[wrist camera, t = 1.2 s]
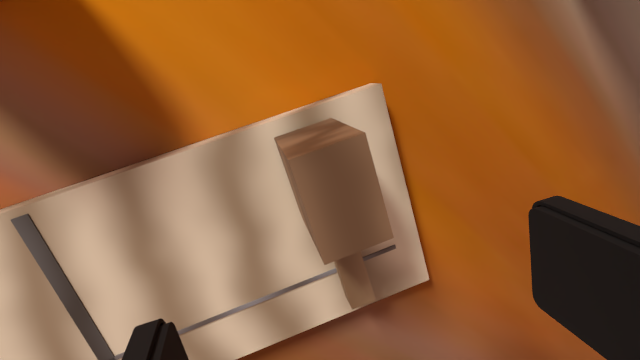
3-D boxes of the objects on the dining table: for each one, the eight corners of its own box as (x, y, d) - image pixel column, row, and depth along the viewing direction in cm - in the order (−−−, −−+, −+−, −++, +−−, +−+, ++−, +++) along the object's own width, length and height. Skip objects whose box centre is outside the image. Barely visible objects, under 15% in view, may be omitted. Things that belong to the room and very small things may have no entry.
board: (371, 83, 28) (381, 83, 26) (418, 267, 33) (430, 280, 31) (-169, 267, 23) (-206, 284, 21) (-20, 446, 28) (-39, 474, 26)
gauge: (331, 117, 25) (365, 132, 19) (379, 279, 29) (421, 338, 23) (273, 137, 25) (288, 160, 18) (330, 299, 29) (359, 365, 22)
